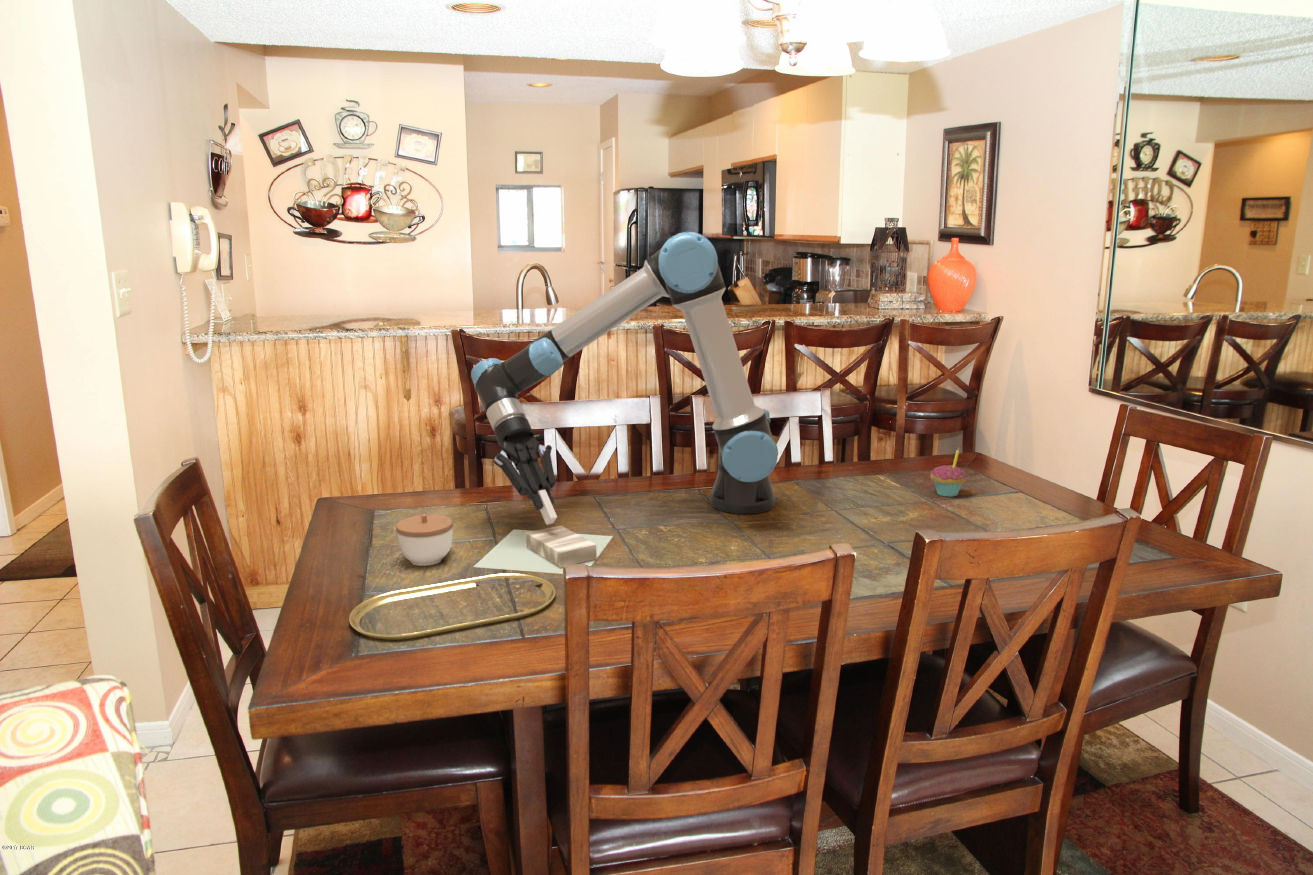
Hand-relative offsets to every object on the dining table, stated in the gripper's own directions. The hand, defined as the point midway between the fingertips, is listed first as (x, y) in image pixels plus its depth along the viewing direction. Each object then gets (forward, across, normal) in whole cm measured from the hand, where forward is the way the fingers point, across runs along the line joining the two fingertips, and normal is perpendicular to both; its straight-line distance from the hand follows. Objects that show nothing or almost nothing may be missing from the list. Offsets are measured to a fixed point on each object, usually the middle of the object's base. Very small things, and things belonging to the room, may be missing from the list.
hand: (551, 520), depth 179 cm
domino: (0, 0, -6) cm, 6 cm away
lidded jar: (-3, +22, -12) cm, 26 cm away
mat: (+5, +2, -4) cm, 7 cm away
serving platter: (+15, +27, +5) cm, 31 cm away
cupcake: (+21, -97, +11) cm, 100 cm away
